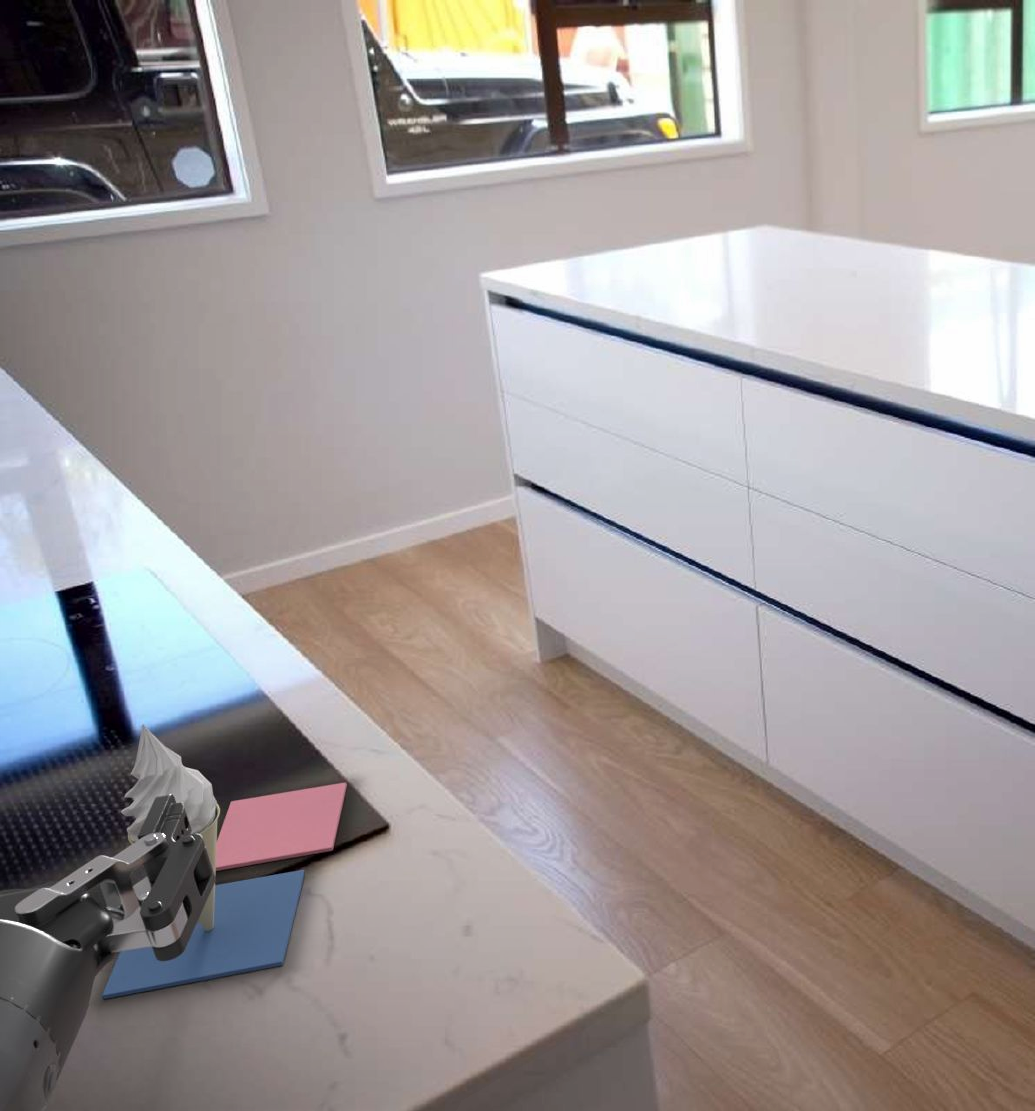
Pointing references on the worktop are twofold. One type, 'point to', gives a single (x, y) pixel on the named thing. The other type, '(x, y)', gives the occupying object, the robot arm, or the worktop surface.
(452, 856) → the worktop surface
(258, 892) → the blue mat
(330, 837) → the rose mat
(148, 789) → the ice cream cone
